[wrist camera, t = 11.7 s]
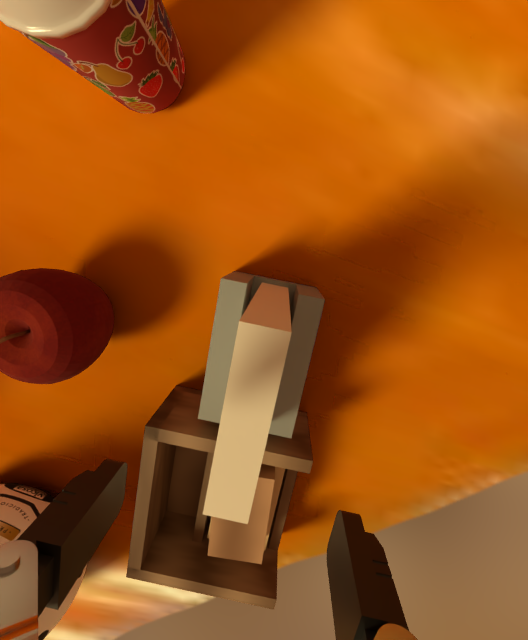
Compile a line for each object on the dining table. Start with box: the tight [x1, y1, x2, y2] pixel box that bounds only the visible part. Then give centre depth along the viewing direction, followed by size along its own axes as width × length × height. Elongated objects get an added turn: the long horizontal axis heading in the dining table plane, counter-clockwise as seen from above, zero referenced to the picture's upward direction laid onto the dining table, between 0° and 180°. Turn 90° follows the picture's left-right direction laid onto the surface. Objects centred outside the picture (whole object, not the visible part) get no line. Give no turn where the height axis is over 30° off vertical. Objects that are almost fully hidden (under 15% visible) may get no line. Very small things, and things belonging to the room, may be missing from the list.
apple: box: [0, 268, 114, 384], centre depth 29 cm, size 10×10×10 cm
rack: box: [126, 385, 313, 609], centre depth 33 cm, size 14×16×8 cm
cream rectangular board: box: [203, 282, 292, 524], centre depth 25 cm, size 2×11×16 cm, turn 169°
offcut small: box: [208, 464, 275, 564], centre depth 31 cm, size 5×9×3 cm, turn 173°
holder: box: [198, 271, 325, 438], centre depth 30 cm, size 8×12×7 cm, turn 169°
